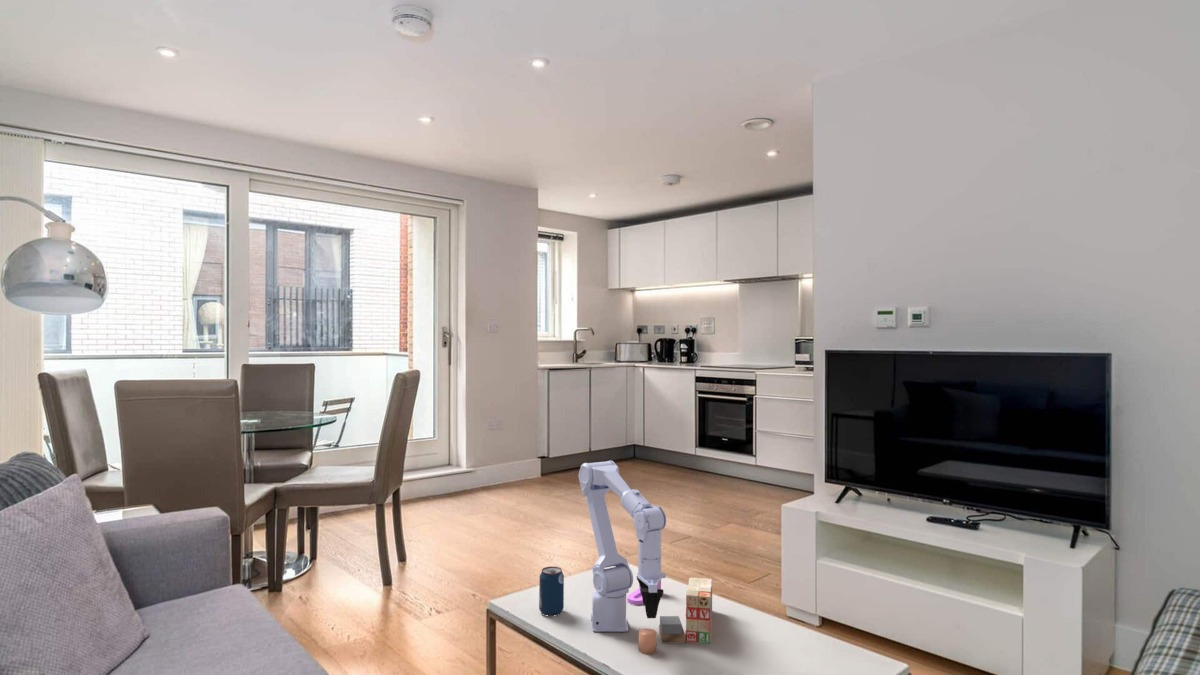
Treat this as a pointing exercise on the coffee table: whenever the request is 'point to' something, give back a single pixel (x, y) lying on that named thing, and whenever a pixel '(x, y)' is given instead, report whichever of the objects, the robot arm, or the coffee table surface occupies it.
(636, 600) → the bracket
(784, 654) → the coffee table surface
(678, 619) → the tower top
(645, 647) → the terracotta cylinder
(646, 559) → the robot arm
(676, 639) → the tower base
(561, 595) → the soda can
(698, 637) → the stack of blocks
